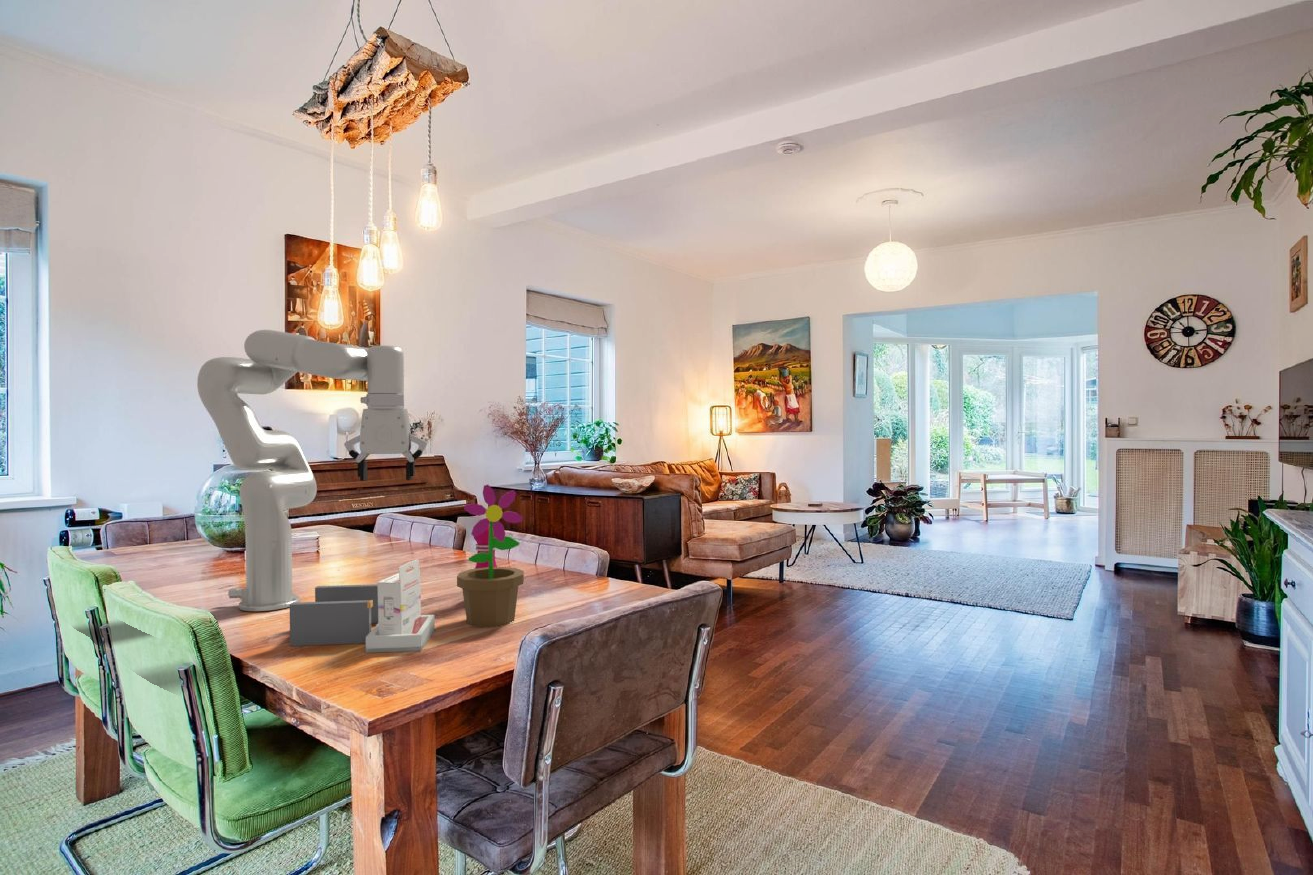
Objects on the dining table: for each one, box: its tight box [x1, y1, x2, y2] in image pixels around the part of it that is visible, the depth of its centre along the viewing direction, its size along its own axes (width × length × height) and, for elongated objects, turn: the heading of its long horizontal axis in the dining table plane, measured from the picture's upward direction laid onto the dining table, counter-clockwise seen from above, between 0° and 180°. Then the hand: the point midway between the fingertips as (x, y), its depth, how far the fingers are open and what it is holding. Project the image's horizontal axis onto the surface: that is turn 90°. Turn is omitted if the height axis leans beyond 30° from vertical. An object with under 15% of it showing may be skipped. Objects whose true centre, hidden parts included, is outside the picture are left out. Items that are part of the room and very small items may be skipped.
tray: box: [365, 614, 436, 654], centre depth 139 cm, size 10×14×3 cm
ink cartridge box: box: [376, 558, 422, 635], centre depth 139 cm, size 9×5×15 cm, turn 173°
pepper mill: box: [473, 516, 498, 569], centre depth 171 cm, size 7×7×20 cm
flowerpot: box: [456, 484, 525, 628], centre depth 152 cm, size 14×14×30 cm
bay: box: [289, 583, 378, 647], centre depth 144 cm, size 15×16×8 cm
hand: (386, 480), depth 155 cm, fingers open, 9 cm apart
